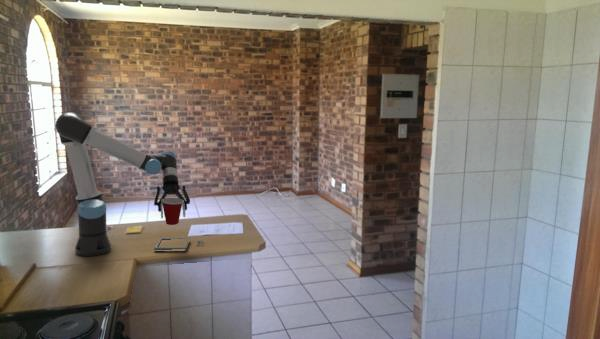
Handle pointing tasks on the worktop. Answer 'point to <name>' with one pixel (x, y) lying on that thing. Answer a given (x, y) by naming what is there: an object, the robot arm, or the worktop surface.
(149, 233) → the worktop surface
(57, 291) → the worktop surface
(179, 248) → the tray
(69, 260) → the worktop surface
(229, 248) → the worktop surface
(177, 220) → the plastic cup
